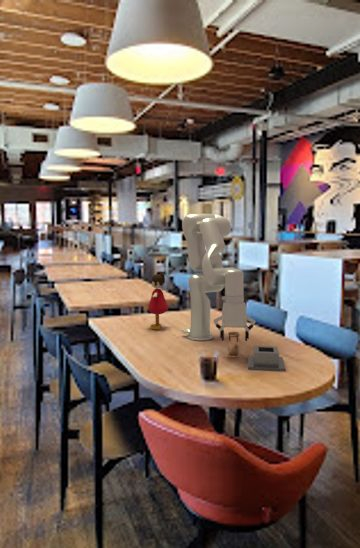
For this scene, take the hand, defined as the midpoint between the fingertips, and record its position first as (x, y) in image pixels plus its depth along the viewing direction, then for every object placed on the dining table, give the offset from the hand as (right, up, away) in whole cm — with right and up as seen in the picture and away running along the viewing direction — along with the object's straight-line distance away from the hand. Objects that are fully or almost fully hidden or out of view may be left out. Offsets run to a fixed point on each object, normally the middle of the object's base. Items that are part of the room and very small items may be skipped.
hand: (234, 340), depth 176 cm
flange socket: (+11, -8, -8) cm, 16 cm away
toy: (-34, -2, +48) cm, 59 cm away
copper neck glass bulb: (0, -7, +2) cm, 7 cm away
